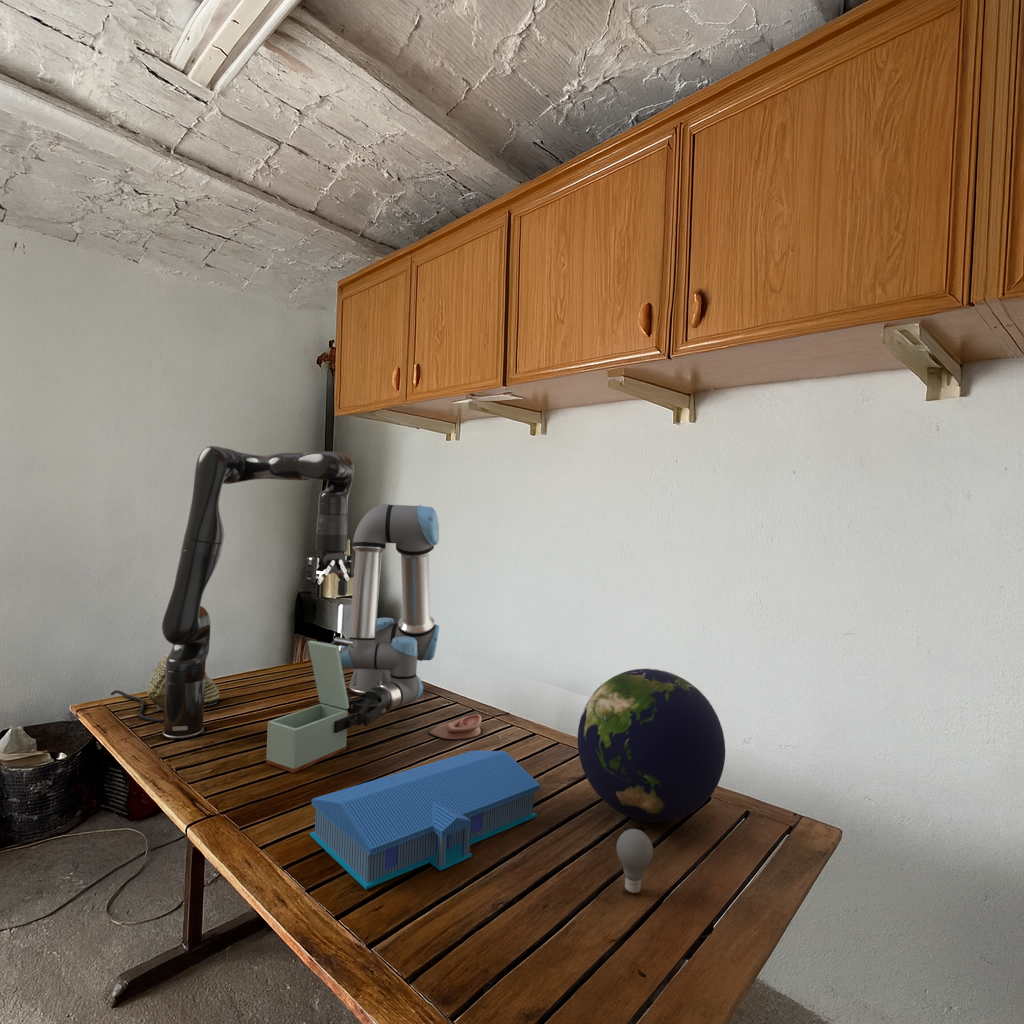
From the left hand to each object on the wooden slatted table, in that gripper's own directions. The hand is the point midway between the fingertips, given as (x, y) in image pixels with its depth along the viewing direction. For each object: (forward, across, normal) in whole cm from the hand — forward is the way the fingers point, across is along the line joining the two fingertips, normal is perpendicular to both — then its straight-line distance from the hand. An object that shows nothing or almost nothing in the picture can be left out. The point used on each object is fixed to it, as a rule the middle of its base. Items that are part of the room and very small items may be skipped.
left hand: (329, 597), depth 158 cm
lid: (+20, 0, 0) cm, 20 cm away
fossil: (+38, -1, +56) cm, 67 cm away
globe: (+38, +13, -79) cm, 89 cm away
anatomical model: (+38, +28, -20) cm, 52 cm away
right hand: (+31, -1, 0) cm, 31 cm away
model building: (+38, -16, -45) cm, 61 cm away
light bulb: (+38, -14, -85) cm, 94 cm away
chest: (+38, -5, 0) cm, 39 cm away
